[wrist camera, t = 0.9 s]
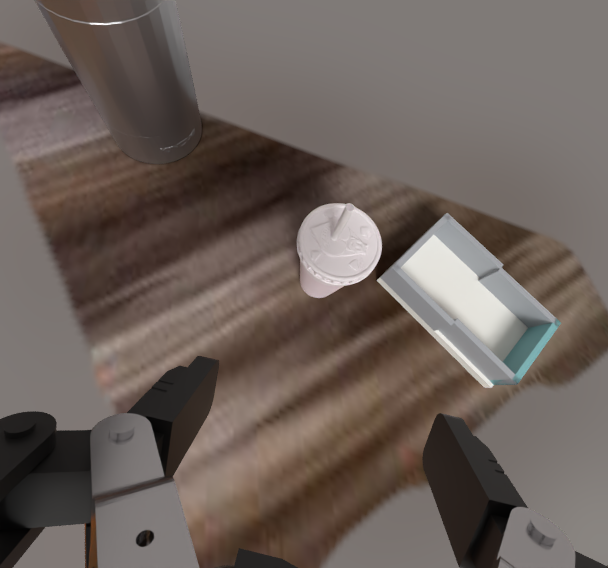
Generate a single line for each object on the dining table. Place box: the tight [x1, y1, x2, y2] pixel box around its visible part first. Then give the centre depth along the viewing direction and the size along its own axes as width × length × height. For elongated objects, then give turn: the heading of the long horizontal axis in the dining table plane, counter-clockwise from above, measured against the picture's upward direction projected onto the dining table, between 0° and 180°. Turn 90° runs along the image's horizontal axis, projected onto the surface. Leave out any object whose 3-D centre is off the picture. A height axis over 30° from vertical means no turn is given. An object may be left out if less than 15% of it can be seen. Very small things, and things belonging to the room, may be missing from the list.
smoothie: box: [297, 203, 382, 298], centre depth 27 cm, size 6×6×14 cm
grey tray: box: [377, 213, 561, 388], centre depth 33 cm, size 15×9×4 cm, turn 44°
